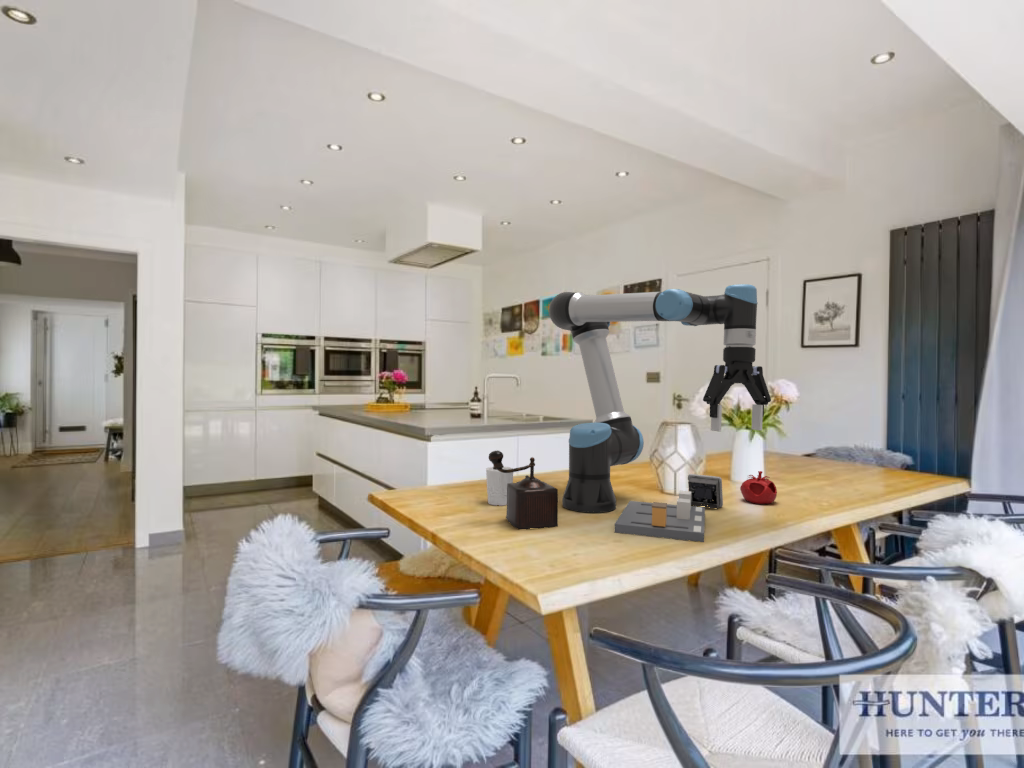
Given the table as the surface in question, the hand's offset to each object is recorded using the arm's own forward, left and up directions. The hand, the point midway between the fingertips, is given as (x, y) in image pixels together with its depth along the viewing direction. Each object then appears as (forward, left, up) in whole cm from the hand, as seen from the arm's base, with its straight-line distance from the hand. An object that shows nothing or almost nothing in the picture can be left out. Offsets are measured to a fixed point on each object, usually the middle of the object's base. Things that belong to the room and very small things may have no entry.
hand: (736, 430), depth 136 cm
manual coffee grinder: (-50, -21, -24) cm, 59 cm away
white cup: (-63, -3, -24) cm, 68 cm away
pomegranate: (+8, +29, -24) cm, 38 cm away
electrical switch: (-7, +16, -24) cm, 30 cm away
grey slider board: (-17, -7, -24) cm, 30 cm away
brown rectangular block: (-17, -17, -21) cm, 32 cm away
